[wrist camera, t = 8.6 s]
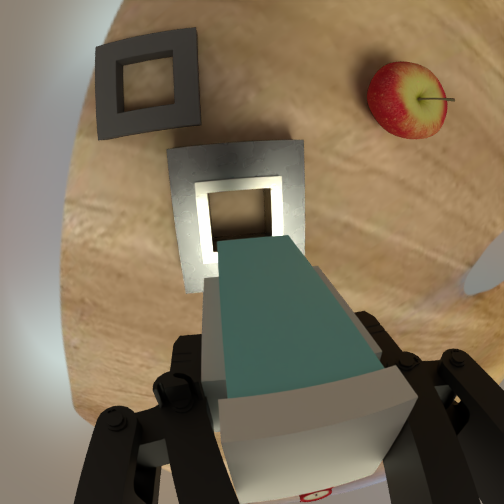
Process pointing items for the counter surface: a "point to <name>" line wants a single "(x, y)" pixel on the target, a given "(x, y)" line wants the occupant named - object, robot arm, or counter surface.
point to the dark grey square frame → (138, 50)
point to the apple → (407, 100)
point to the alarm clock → (315, 495)
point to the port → (229, 179)
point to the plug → (297, 378)
